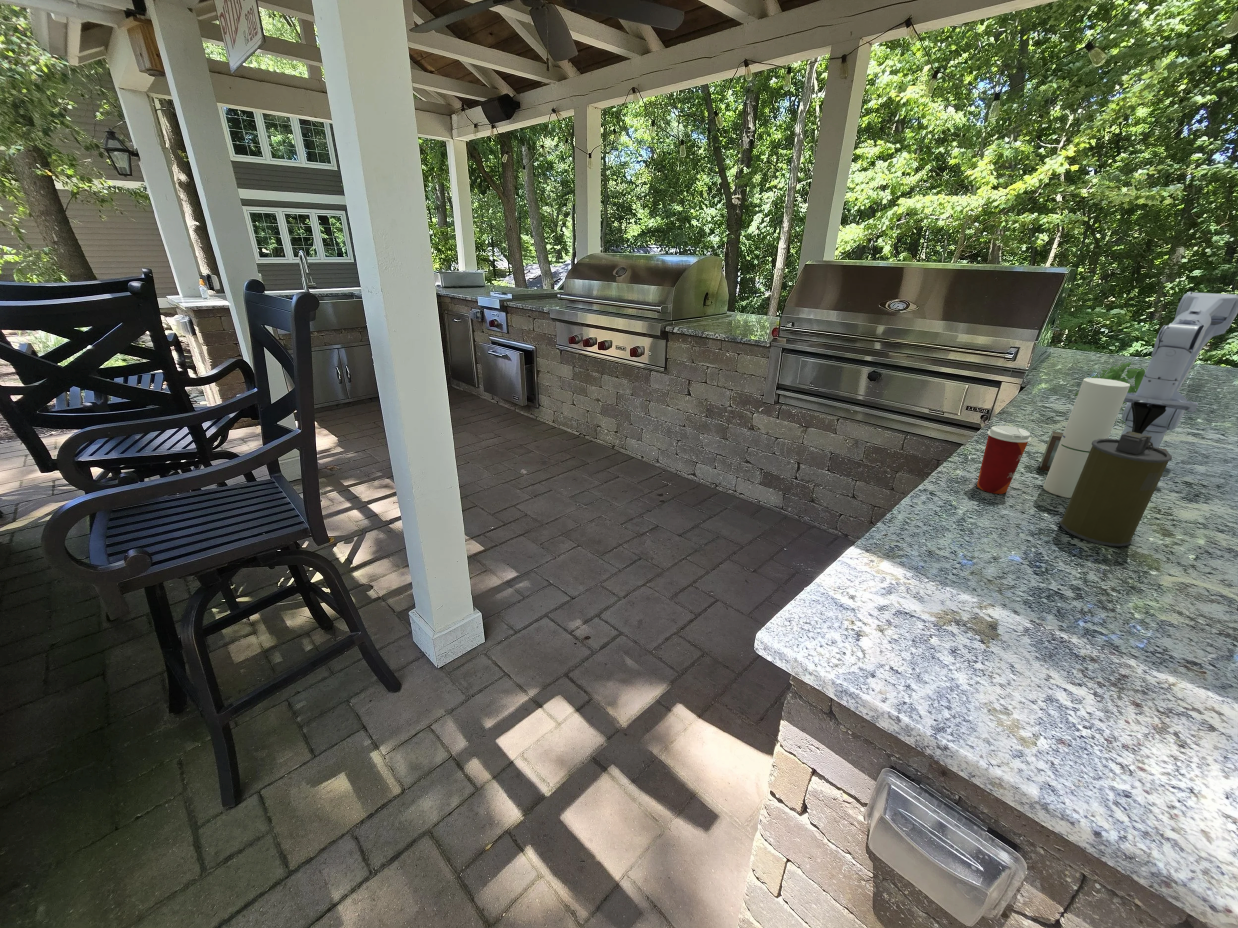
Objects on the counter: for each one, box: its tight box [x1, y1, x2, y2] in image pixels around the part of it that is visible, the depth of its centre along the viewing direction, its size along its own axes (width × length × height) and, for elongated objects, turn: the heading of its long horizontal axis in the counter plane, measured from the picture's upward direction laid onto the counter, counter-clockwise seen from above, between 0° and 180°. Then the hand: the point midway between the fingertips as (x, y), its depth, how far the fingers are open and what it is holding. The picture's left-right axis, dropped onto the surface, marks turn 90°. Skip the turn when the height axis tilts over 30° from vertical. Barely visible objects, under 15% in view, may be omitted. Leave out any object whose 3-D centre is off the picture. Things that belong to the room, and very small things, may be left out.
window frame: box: [1039, 430, 1169, 472], centre depth 117 cm, size 4×20×9 cm, turn 53°
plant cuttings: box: [1074, 361, 1146, 424], centre depth 152 cm, size 35×17×22 cm
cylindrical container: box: [1042, 377, 1131, 499], centre depth 107 cm, size 7×7×25 cm
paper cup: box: [976, 425, 1032, 495], centre depth 111 cm, size 8×8×14 cm
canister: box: [1059, 431, 1173, 548], centre depth 92 cm, size 11×10×20 cm
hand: (1135, 434), depth 119 cm, fingers closed
